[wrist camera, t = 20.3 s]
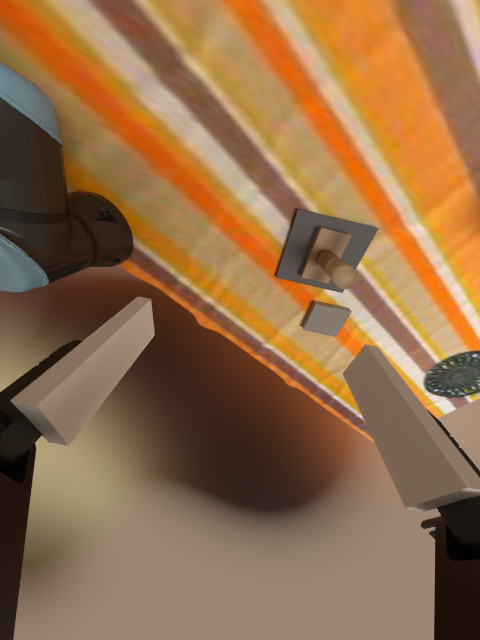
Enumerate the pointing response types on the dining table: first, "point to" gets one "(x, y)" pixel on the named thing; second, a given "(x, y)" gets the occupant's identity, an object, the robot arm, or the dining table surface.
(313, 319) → the tile
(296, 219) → the mat
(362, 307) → the dining table surface
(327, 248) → the tamper
